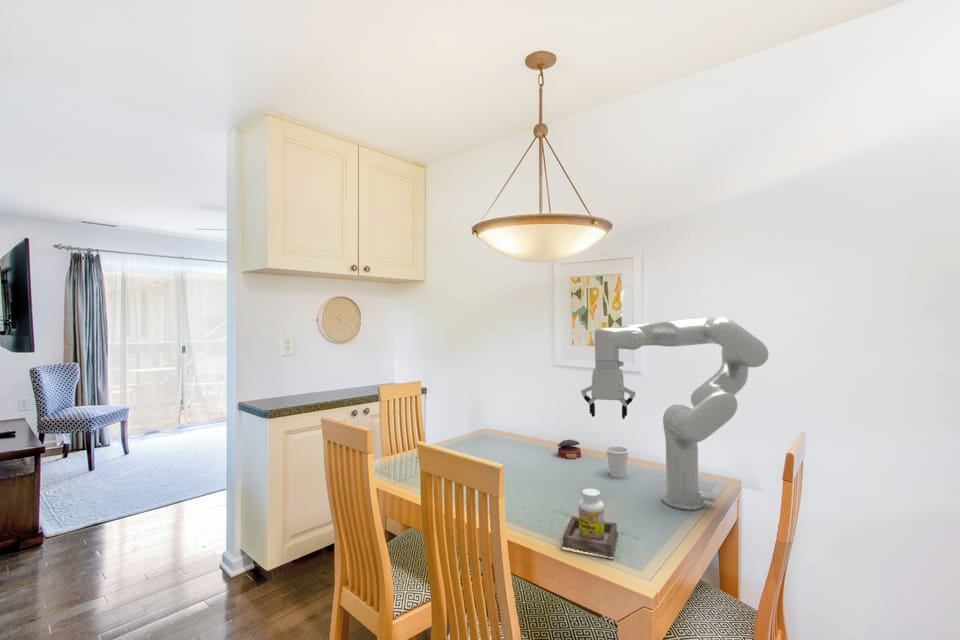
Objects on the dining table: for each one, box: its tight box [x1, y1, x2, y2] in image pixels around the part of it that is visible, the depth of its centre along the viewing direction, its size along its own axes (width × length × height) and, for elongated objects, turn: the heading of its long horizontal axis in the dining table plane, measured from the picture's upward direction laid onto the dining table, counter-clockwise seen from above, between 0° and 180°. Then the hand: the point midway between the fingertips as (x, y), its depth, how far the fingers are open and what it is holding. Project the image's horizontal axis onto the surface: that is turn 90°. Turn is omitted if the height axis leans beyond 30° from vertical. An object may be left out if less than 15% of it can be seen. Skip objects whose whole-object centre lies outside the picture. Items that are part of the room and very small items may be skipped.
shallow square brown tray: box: [561, 515, 619, 558], centre depth 118 cm, size 13×13×4 cm
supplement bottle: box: [578, 488, 605, 541], centre depth 118 cm, size 7×7×13 cm
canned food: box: [556, 439, 582, 460], centre depth 191 cm, size 11×10×10 cm
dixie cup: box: [605, 445, 630, 479], centre depth 167 cm, size 8×8×10 cm
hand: (608, 416), depth 143 cm, fingers open, 9 cm apart
